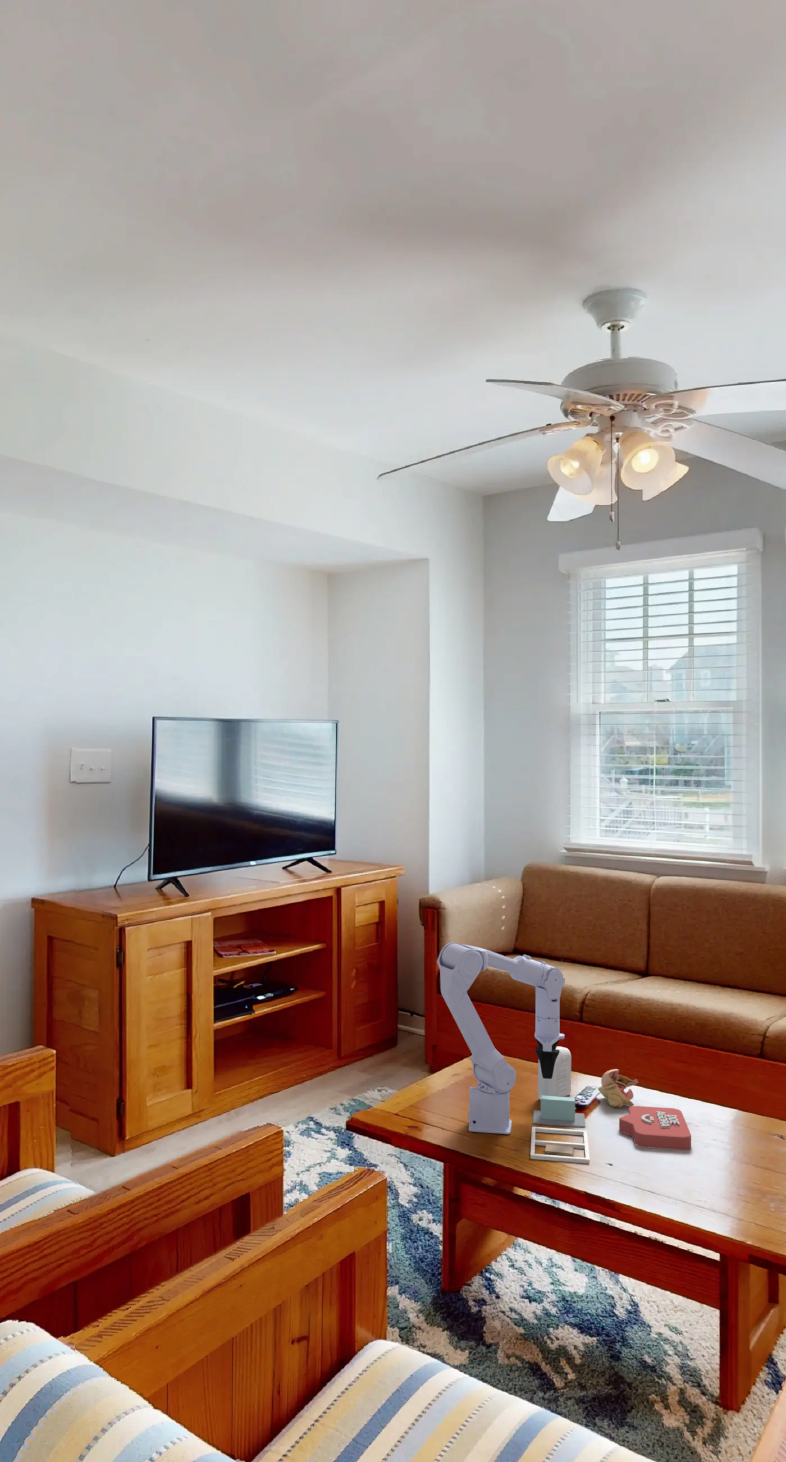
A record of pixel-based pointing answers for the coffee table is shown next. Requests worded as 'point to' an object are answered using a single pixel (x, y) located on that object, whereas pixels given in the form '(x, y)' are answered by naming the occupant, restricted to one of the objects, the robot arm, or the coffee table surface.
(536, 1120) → the mat
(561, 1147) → the offcut stack
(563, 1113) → the pale teal block
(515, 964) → the robot arm
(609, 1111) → the coffee table surface
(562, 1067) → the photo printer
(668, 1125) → the plaque
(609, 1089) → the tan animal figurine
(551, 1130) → the rack
